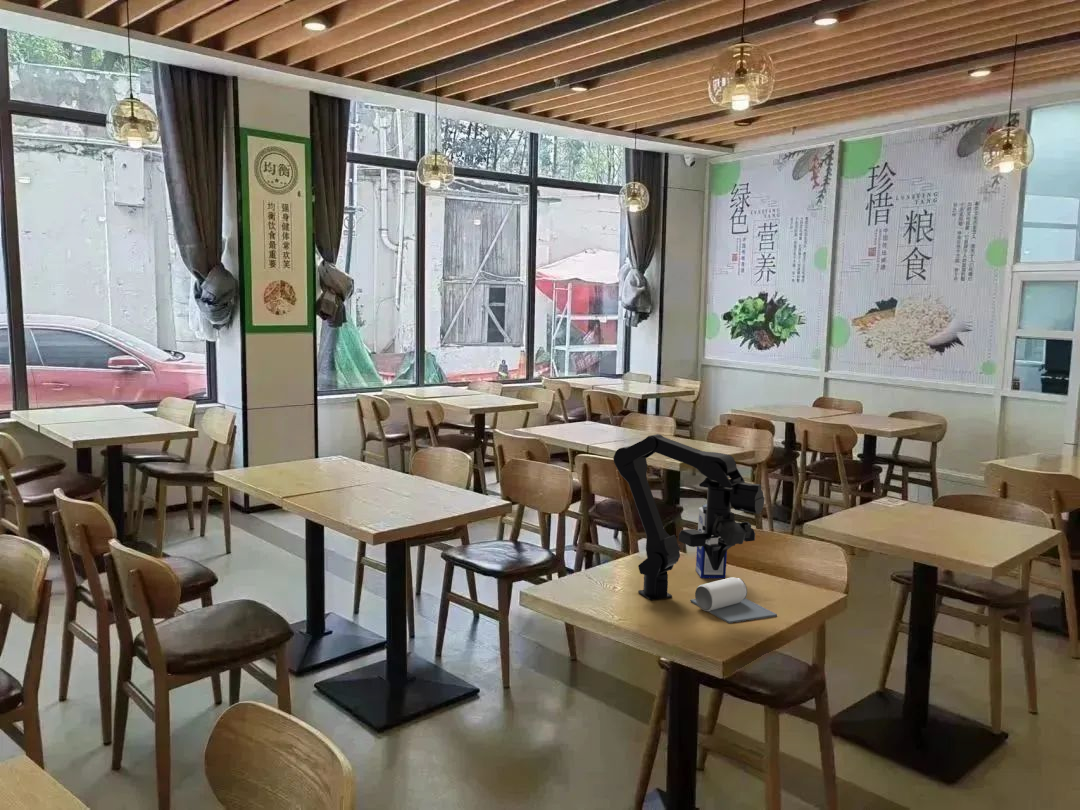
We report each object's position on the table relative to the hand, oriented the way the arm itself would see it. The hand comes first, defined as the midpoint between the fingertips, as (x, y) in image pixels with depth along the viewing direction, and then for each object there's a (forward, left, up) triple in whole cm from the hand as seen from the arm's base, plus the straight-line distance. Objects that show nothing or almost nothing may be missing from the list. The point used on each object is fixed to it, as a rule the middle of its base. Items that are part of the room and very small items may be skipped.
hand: (715, 569), depth 210 cm
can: (0, -3, -7) cm, 8 cm away
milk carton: (-24, +16, -10) cm, 31 cm away
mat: (+1, +5, -10) cm, 11 cm away
